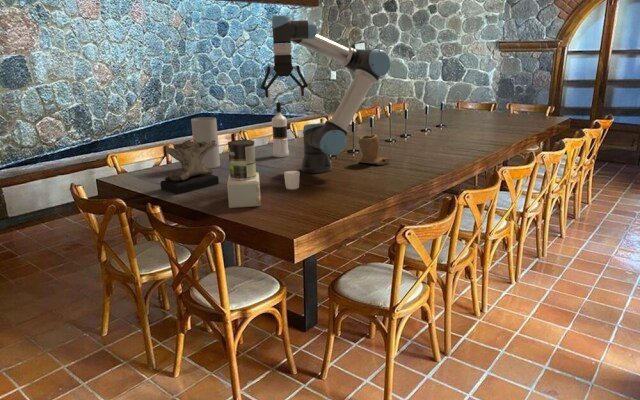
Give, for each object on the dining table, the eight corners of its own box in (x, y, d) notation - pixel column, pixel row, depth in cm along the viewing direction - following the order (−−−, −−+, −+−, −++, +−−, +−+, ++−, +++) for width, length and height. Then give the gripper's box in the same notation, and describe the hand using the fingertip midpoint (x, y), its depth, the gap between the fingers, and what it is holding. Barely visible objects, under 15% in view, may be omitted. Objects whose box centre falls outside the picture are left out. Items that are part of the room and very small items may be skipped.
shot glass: (300, 185, 223) (299, 169, 221) (300, 189, 216) (299, 173, 214) (284, 185, 223) (284, 170, 221) (284, 190, 216) (283, 174, 214)
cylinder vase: (214, 169, 257) (210, 120, 249) (191, 169, 259) (186, 120, 252) (223, 164, 268) (219, 117, 261) (202, 163, 271) (197, 117, 264)
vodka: (269, 156, 286) (266, 102, 277) (283, 153, 291) (280, 101, 283) (279, 158, 279) (276, 103, 270) (292, 156, 284) (290, 102, 276)
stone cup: (353, 164, 261) (353, 135, 256) (367, 160, 269) (366, 132, 265) (378, 167, 251) (378, 138, 247) (391, 163, 260) (391, 134, 256)
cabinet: (260, 195, 209) (259, 171, 206) (260, 207, 193) (259, 182, 190) (231, 197, 208) (229, 173, 205) (228, 209, 192) (226, 183, 189)
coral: (207, 178, 240) (203, 133, 234) (233, 185, 226) (229, 137, 220) (160, 189, 223) (154, 141, 217) (185, 197, 209) (179, 146, 203)
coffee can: (234, 181, 192) (231, 145, 188) (227, 176, 201) (224, 141, 197) (260, 178, 196) (257, 142, 192) (252, 173, 205) (249, 138, 201)
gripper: (253, 55, 209) (256, 106, 215) (312, 53, 211) (314, 104, 218) (253, 55, 216) (256, 105, 222) (310, 53, 219) (312, 102, 225)
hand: (285, 104), depth 220 cm, fingers open, 13 cm apart
